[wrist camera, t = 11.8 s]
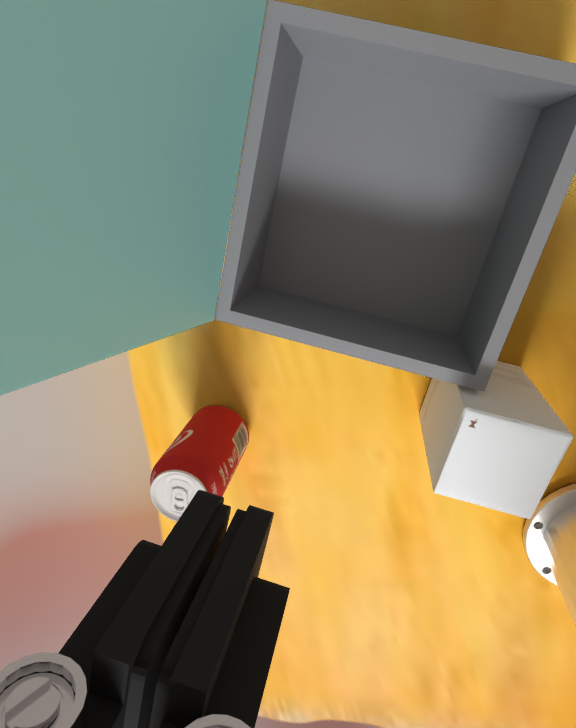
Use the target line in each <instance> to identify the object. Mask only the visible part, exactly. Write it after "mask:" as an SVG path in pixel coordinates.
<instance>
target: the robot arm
mask: <svg viewBox="0 0 576 728" xmlns="http://www.w3.org/2000/svg"><path fill="white" fill-rule="evenodd" d="M223 502H224V498H223V497H222V496H219V495H216V494H212V493H209V492H206V491H203V490H198V491H197V492H196V494H195V495H194V497H193V498H192V500H191V501H190V503H189V505H188V506H187V508H186V509H185V511H184V512H183V514H182V515H181V517H180V518H179V520H178V522H177V523H176V525H175V526H174V528H173V529H172V531H171V532H170V534H169V535H168V537H167V539H166V540H165V542H164V543H163V545H162V546H160V545H157V544H154V543H151V542H148V541H145V540H142V541H140V542H139V543H138V544H137V545H136V547H135V548H134V549H133V551H132V552H131V553H130V555H129V556H128V557H127V559H126V560H125V562H124V563H123V564H122V566H121V567H120V569H119V570H118V572H117V573H116V574H115V575H114V577H113V578H112V580H111V581H110V582H109V584H108V585H107V587H106V588H105V589H104V591H103V592H102V593H101V595H100V596H99V598H98V599H97V600H96V602H95V603H94V605H93V606H92V607H91V609H90V610H89V612H88V613H87V614H86V616H85V617H84V619H83V620H82V621H81V623H80V624H79V625H78V627H77V628H76V630H75V631H74V632H73V634H72V635H71V637H70V638H69V639H68V641H67V642H66V643H65V645H64V647H63V648H62V649H61V650H60V652H59V653H38V654H33V655H29V656H25V657H23V658H21V659H19V660H17V661H15V662H13V663H10V664H9V665H8V666H6V667H5V668H4V669H2V670H1V671H0V728H254V727H255V723H256V719H257V716H258V712H259V708H260V704H261V700H262V696H263V692H264V688H265V684H266V680H267V676H268V672H269V669H270V665H271V661H272V657H273V653H274V649H275V645H276V641H277V637H278V633H279V629H280V625H281V622H282V618H283V614H284V610H285V606H286V602H287V598H288V594H289V590H290V588H287V587H284V586H281V585H278V584H275V583H272V582H269V581H266V580H263V579H260V578H258V575H259V571H260V567H261V563H262V559H263V555H264V551H265V547H266V543H267V539H268V535H269V531H270V527H271V523H272V519H273V514H274V513H273V512H270V511H267V510H263V509H260V508H257V507H254V506H251V505H249V507H248V509H247V511H243V510H240V509H237V511H236V513H235V515H234V517H233V519H232V521H231V523H230V525H229V527H228V529H227V525H228V520H229V515H230V510H231V507H230V506H227V505H224V504H223ZM226 529H227V532H226ZM523 543H524V548H525V551H526V554H527V556H528V559H529V561H530V562H531V564H532V565H533V567H534V568H535V570H536V571H537V572H538V573H539V574H540V575H541V576H543V577H544V578H546V579H547V580H548V581H550V582H551V583H554V584H556V585H558V587H559V589H560V591H561V594H562V596H563V598H564V601H565V603H566V605H567V608H568V610H569V612H570V614H571V617H572V619H573V621H574V624H575V626H576V484H572V485H569V486H566V487H563V488H560V489H559V490H557V491H555V492H553V493H551V494H549V495H548V496H547V497H545V498H544V499H543V500H541V501H540V502H539V504H538V506H537V508H536V510H535V512H534V514H533V515H532V518H531V519H527V520H526V523H525V526H524V529H523Z"/></svg>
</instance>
